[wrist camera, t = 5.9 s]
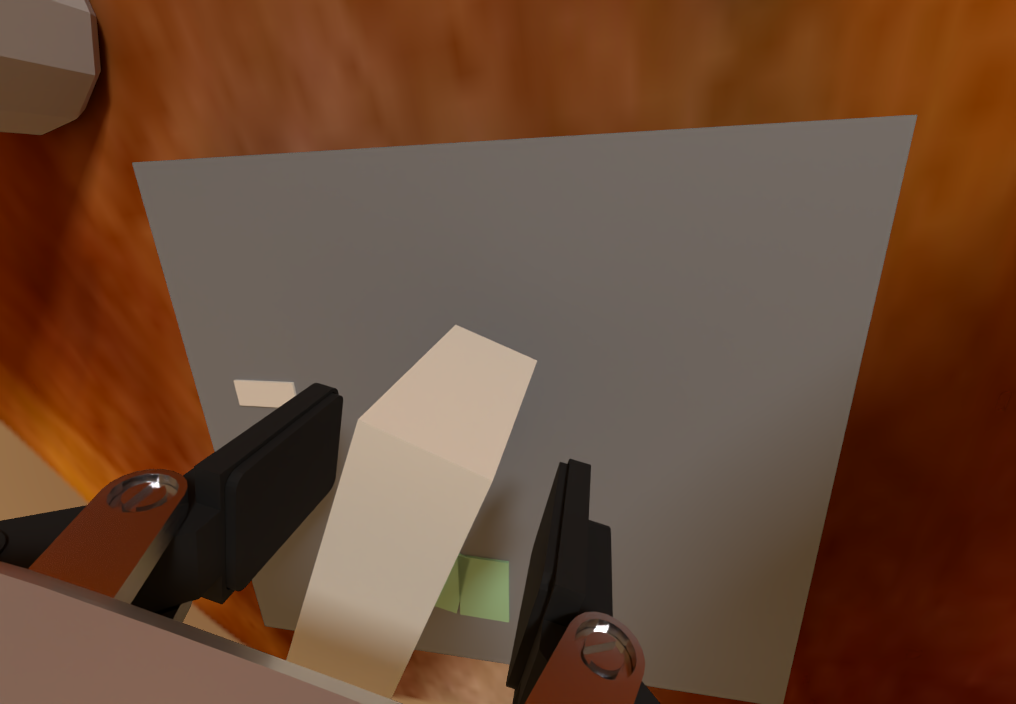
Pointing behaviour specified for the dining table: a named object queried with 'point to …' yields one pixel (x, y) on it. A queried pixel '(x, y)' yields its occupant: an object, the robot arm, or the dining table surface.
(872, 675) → the dining table surface
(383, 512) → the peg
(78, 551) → the robot arm
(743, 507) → the grey square board
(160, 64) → the dining table surface
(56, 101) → the water bottle
